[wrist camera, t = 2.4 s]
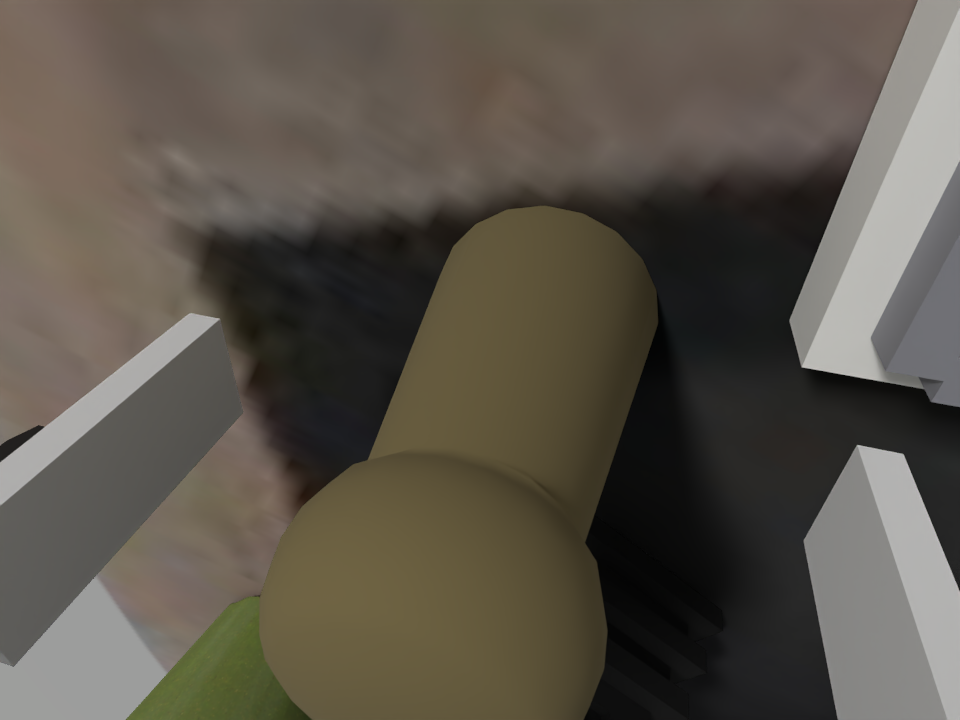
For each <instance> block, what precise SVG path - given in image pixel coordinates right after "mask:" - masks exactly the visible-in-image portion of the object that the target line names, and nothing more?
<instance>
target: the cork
mask: <svg viewBox="0 0 960 720" xmlns="http://www.w3.org/2000/svg"><path fill="white" fill-rule="evenodd" d="M657 325H658V308H657V291H656V289H655V286H654V284H653V282H652V280H651V277H650V275H649V273H648V271H647V268H646V266H645V264H644V262H643V259H642V258H641V257H640V256H639V255H638V254H637V253H636V252H635V251H634V250H633V249H632V248H631V247H630V246H629V244H628V243H627V242H626V241H625V240H624V239H623V238H622V237H621V236H620V235H619V234H618V233H617V232H616V231H614V230H612V229H610V228H608V227H607V226H605V225H603V224H601V223H599V222H598V221H596V220H594V219H592V218H590V217H588V216H587V215H585V214H583V213H578V212H574V211H569V210H564V209H559V208H554V207H549V206H536V207H527V208H517V209H508V210H505V211H503V212H501V213H499V214H497V215H495V216H492V217H490V218H488V219H486V220H484V221H481V222H479V223H477V224H476V225H474V226H473V227H472V228H471V229H470V230H469V231H468V232H467V233H466V234H465V235H464V236H463V237H462V238H461V239H460V240H459V241H458V242H457V243H456V244H455V245H454V246H453V248H452V250H451V252H450V255H449V257H448V259H447V261H446V263H445V265H444V268H443V270H442V272H441V274H440V277H439V279H438V282H437V285H436V287H435V290H434V292H433V295H432V297H431V300H430V302H429V305H428V308H427V310H426V313H425V315H424V318H423V320H422V323H421V325H420V328H419V331H418V333H417V336H416V338H415V341H414V343H413V346H412V348H411V351H410V354H409V356H408V359H407V361H406V364H405V366H404V369H403V371H402V374H401V377H400V379H399V382H398V384H397V387H396V389H395V392H394V394H393V397H392V400H391V402H390V405H389V407H388V410H387V412H386V415H385V417H384V420H383V423H382V425H381V428H380V430H379V433H378V435H377V438H376V441H375V443H374V446H373V448H372V451H371V453H370V456H369V458H368V460H367V461H364V462H360V463H357V464H353V465H352V466H351V467H349V468H348V469H347V470H345V471H344V472H343V473H342V474H340V475H339V476H338V477H336V478H335V479H334V480H332V481H331V482H330V483H329V484H327V485H326V486H325V487H324V488H323V489H322V490H320V491H319V492H318V493H317V494H316V495H315V496H314V497H312V498H311V499H310V500H309V501H308V502H307V503H306V504H304V505H303V506H302V507H301V509H300V510H299V512H298V513H297V515H296V516H295V518H294V519H293V521H292V522H291V523H290V525H289V526H288V528H287V529H286V531H285V532H284V534H283V535H282V537H281V539H280V542H279V544H278V547H277V550H276V552H275V555H274V557H273V560H272V563H271V566H270V568H269V571H268V574H267V577H266V580H265V583H264V586H263V589H262V592H261V595H260V598H259V636H260V640H261V645H262V649H263V654H264V658H265V660H266V662H267V664H268V665H269V667H270V669H271V670H272V672H273V674H274V675H275V677H276V678H277V680H278V681H279V683H280V684H281V686H282V687H283V689H284V690H285V692H286V693H287V695H288V696H289V698H290V699H291V701H292V702H294V703H295V704H296V705H297V706H298V707H299V708H300V709H301V710H302V711H303V712H304V713H305V714H307V715H308V716H309V717H310V718H311V719H312V720H584V718H585V715H586V713H587V711H588V709H589V707H590V704H591V702H592V699H593V697H594V694H595V691H596V689H597V686H598V684H599V681H600V678H601V676H602V673H603V671H604V664H605V653H606V642H607V631H608V630H607V624H606V617H605V611H604V604H603V598H602V592H601V585H600V579H599V573H598V567H597V561H596V560H595V558H594V557H593V555H592V553H591V552H590V550H589V549H588V547H587V545H586V544H585V541H586V538H587V535H588V532H589V529H590V526H591V523H592V520H593V517H594V514H595V511H596V508H597V505H598V502H599V499H600V496H601V493H602V490H603V487H604V484H605V481H606V478H607V475H608V472H609V469H610V466H611V463H612V460H613V457H614V454H615V451H616V448H617V445H618V442H619V439H620V436H621V433H622V430H623V427H624V424H625V421H626V418H627V415H628V412H629V409H630V406H631V403H632V400H633V397H634V394H635V391H636V388H637V385H638V382H639V379H640V376H641V373H642V370H643V368H644V365H645V362H646V359H647V356H648V353H649V350H650V347H651V344H652V341H653V338H654V335H655V331H656V328H657Z"/></svg>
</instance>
